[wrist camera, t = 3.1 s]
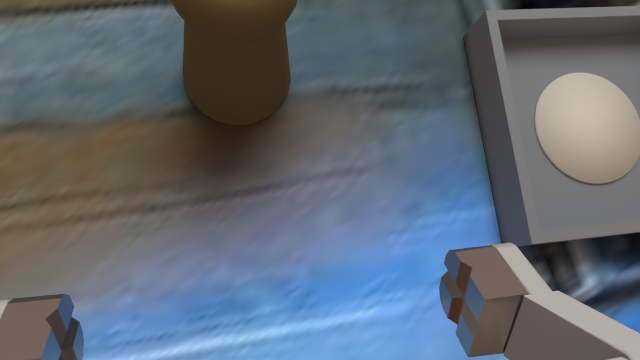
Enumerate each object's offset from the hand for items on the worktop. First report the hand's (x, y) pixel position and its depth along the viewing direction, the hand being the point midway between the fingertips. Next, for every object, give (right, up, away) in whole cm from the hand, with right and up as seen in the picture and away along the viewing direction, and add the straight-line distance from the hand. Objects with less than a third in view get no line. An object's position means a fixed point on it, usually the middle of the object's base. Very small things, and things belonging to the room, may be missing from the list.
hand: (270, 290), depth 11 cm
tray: (+17, +6, +20) cm, 27 cm away
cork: (-4, +8, +18) cm, 20 cm away
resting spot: (+17, +6, +19) cm, 27 cm away
